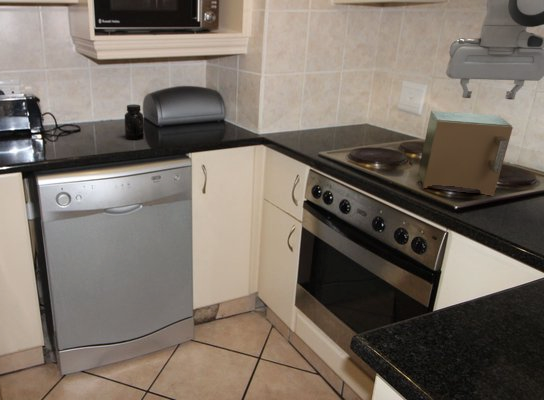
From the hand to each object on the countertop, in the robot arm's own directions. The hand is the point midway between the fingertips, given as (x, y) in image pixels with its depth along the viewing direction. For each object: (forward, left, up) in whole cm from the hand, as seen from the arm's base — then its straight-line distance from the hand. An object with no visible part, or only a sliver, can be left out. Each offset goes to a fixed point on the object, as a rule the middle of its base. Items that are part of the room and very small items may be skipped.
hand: (487, 98), depth 116 cm
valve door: (+1, 0, -26) cm, 26 cm away
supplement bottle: (+105, -23, -26) cm, 110 cm away
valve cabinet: (+1, -10, -26) cm, 28 cm away
